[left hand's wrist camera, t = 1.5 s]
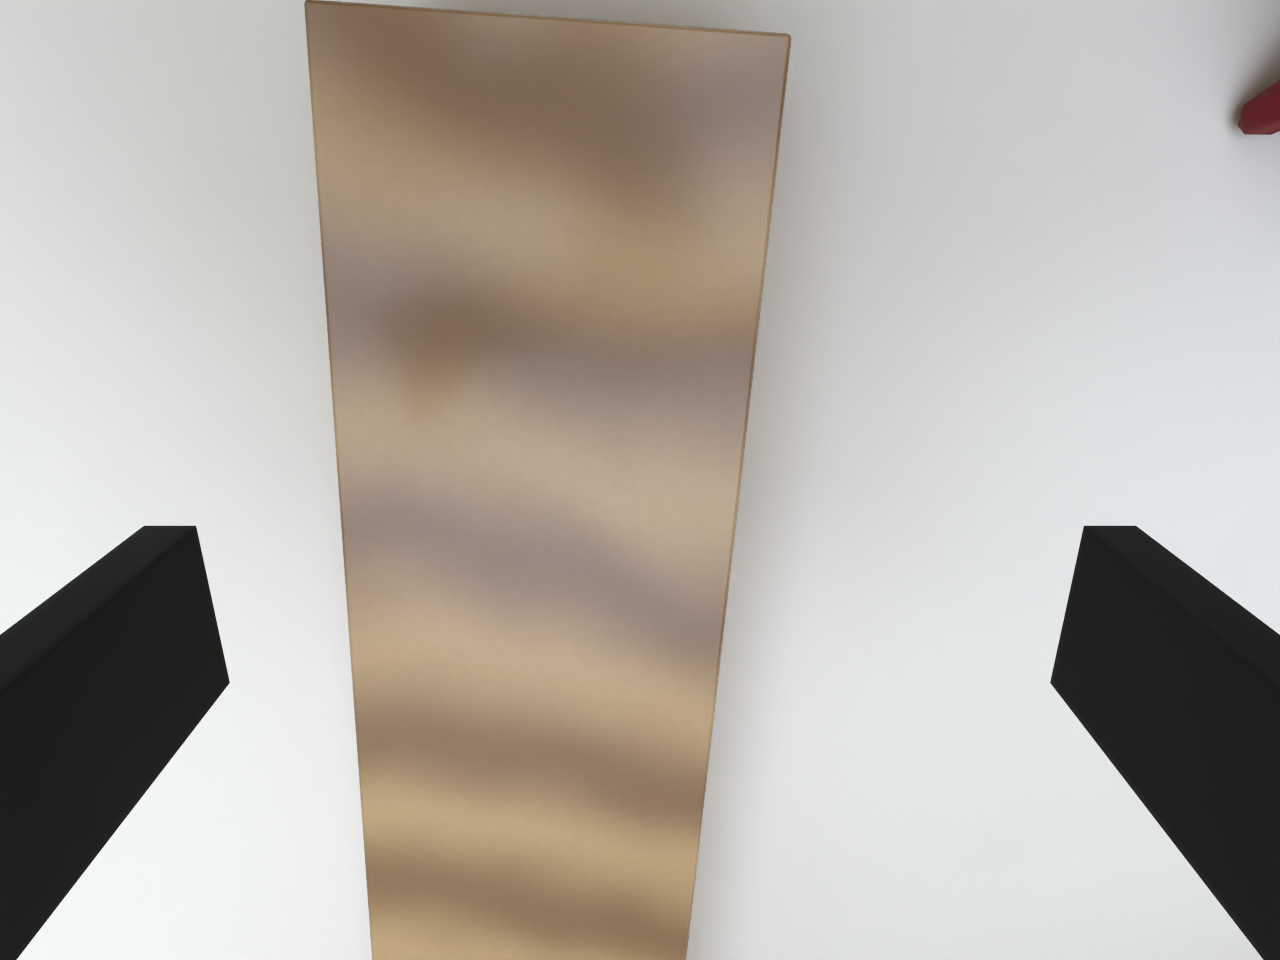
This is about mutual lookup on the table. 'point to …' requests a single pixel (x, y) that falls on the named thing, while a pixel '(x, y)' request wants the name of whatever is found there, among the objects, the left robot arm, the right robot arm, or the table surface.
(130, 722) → the left robot arm
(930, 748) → the table surface
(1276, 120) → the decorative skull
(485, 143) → the long beam
